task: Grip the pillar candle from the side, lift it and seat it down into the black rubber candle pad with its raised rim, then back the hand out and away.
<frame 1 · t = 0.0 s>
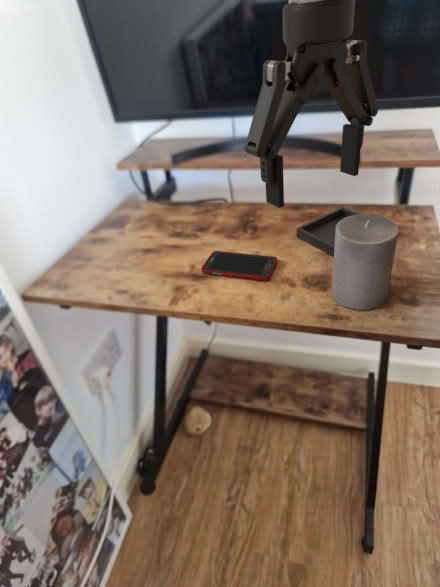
hand: (313, 188, 55), 24 cm above the table, tool pointing down, fingers open, 13 cm apart
candle pad: (343, 237, 89), on the table
cell phone: (239, 268, 84), on the table
pillar candle: (358, 295, 73), on the table
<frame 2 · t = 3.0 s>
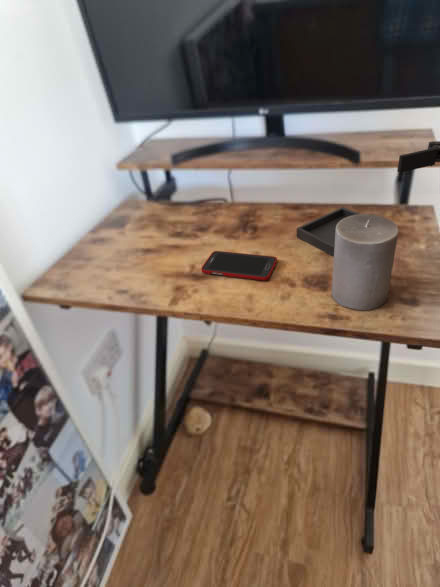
hand: (425, 178, 62), 20 cm above the table, tool horizontal, fingers open, 13 cm apart
nothing on the table moved.
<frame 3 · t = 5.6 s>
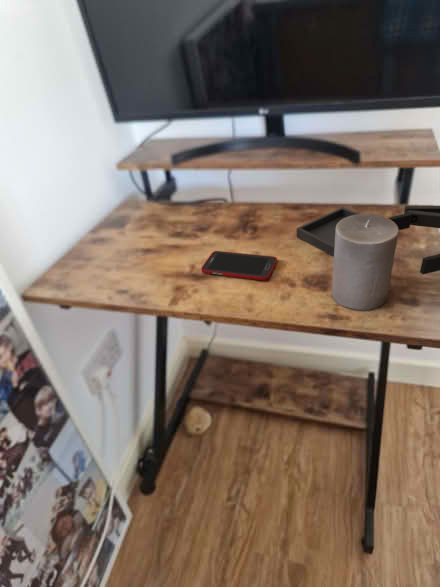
hand: (397, 245, 69), 9 cm above the table, tool horizontal, fingers open, 13 cm apart
nothing on the table moved.
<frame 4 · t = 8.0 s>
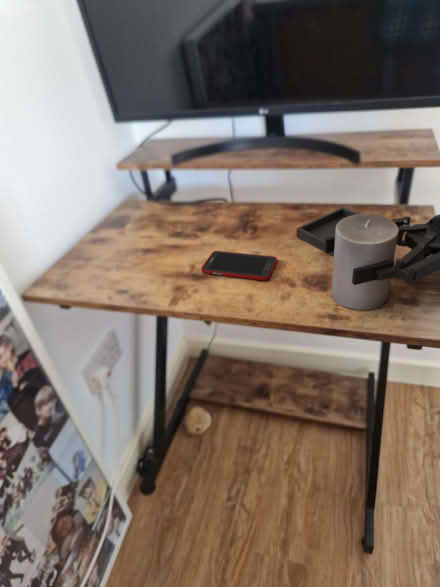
hand: (338, 260, 67), 8 cm above the table, tool horizontal, fingers closed on pillar candle, 9 cm apart
pillar candle: (358, 295, 73), on the table, touching gripper
everything else where it was.
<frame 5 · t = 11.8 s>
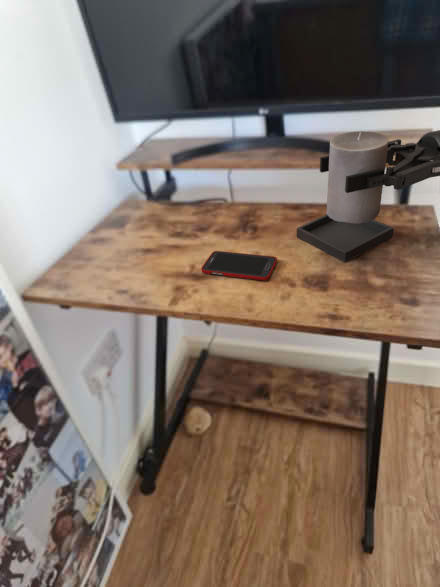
hand: (332, 174, 72), 18 cm above the table, tool horizontal, fingers closed on pillar candle, 9 cm apart
pillar candle: (352, 213, 77), point 10 cm above the table, touching gripper
everything else where it was.
when the fingers open (9 cm above the table, at t = 15.8 s): pillar candle stays where it is, resting on candle pad.
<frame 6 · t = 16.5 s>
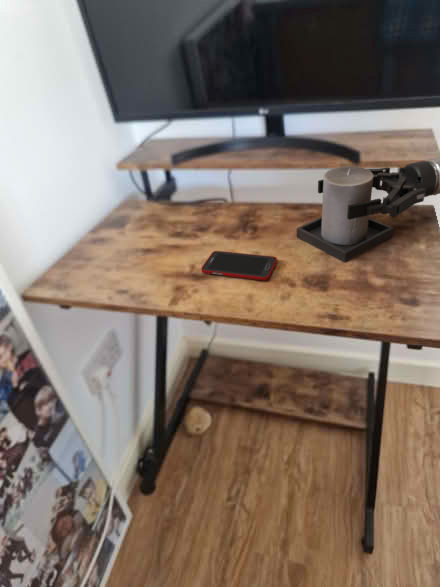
hand: (332, 199, 83), 10 cm above the table, tool horizontal, fingers open, 13 cm apart
pillar candle: (343, 235, 89), resting on candle pad
everything else where it was.
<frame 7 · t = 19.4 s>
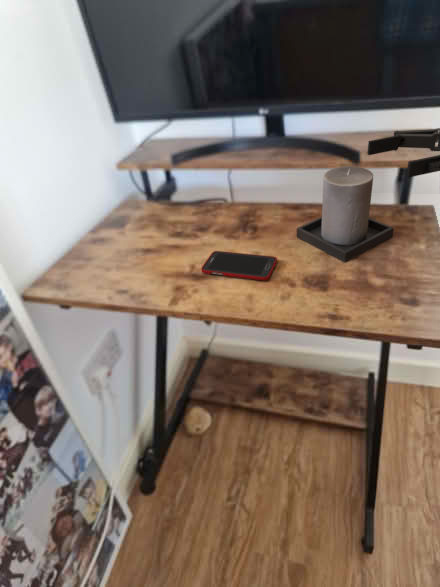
hand: (387, 158, 77), 17 cm above the table, tool horizontal, fingers open, 13 cm apart
nothing on the table moved.
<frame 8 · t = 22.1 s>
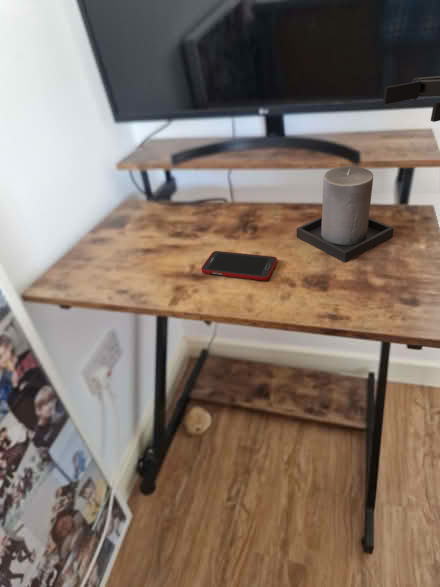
hand: (407, 103, 67), 28 cm above the table, tool horizontal, fingers open, 13 cm apart
nothing on the table moved.
at the end: pillar candle 0.0 cm off-centre in the candle pad, point 0.3 cm above the candle pad's base; pillar candle tilted 0°; the gripper is holding nothing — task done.
